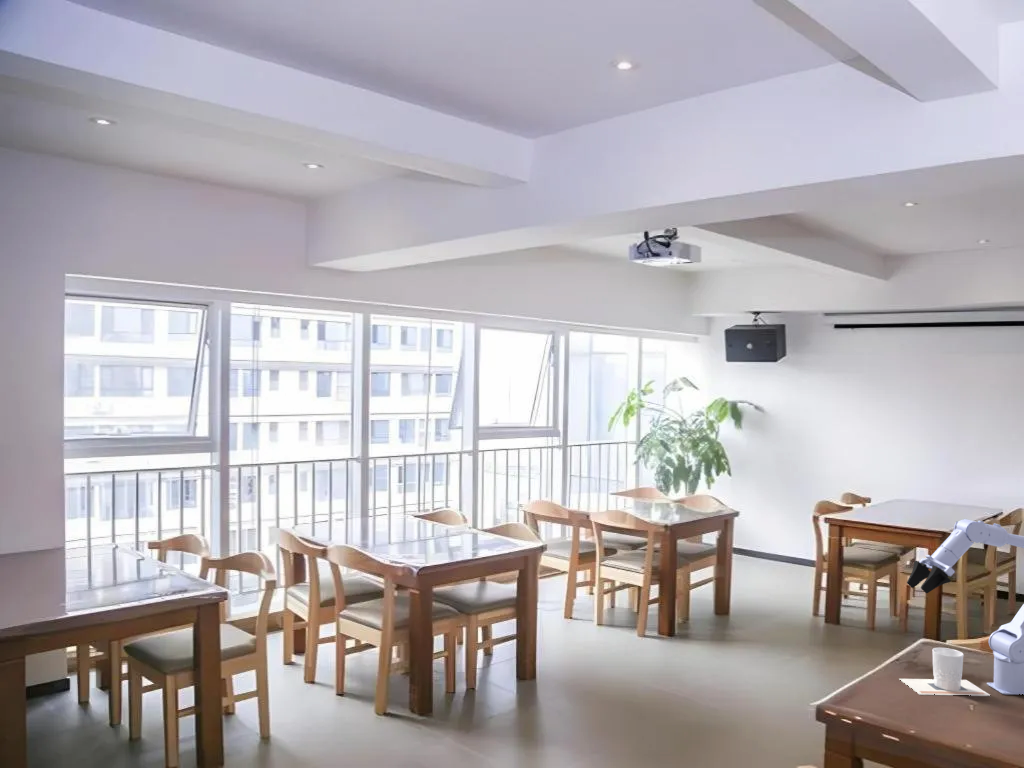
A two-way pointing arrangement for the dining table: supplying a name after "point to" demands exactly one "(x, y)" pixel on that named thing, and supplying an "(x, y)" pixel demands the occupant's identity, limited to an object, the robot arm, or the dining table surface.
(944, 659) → the white cup
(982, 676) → the dining table surface
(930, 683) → the menu card
